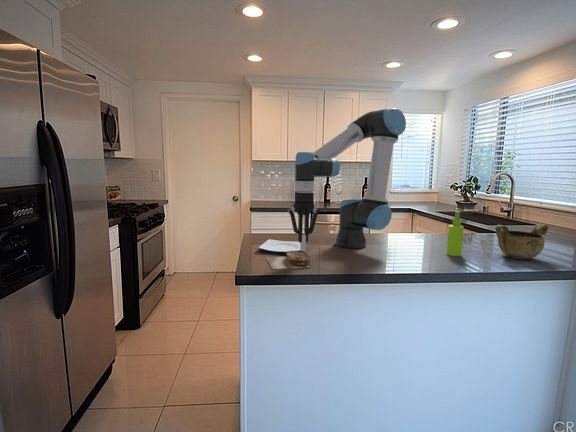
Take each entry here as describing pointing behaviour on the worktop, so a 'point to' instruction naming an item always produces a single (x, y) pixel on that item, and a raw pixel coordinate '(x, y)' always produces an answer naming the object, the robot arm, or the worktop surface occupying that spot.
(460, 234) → the green bottle
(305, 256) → the bread slice
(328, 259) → the worktop surface
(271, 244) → the plate
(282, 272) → the worktop surface
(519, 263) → the worktop surface
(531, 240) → the ceramic bowl
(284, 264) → the cork mat
